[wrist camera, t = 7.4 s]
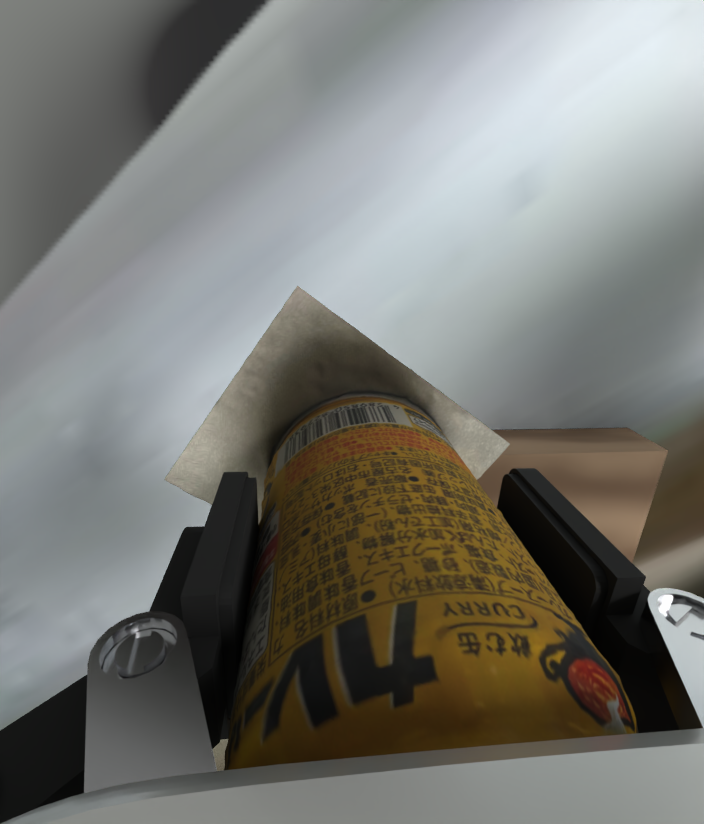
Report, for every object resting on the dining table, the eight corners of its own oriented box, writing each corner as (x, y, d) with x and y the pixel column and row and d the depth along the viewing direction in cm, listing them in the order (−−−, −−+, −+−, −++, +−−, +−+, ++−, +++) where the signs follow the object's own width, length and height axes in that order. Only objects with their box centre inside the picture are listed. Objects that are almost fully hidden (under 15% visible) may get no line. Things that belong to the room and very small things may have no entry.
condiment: (374, 587, 16) (528, 1328, 5) (165, 476, 14) (-412, 1470, 3) (507, 440, 15) (1160, 1076, 3) (297, 284, 12) (246, 788, 1)
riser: (397, 431, 31) (410, 457, 28) (627, 427, 33) (668, 450, 30) (383, 621, 38) (392, 662, 34) (577, 608, 40) (605, 645, 36)
